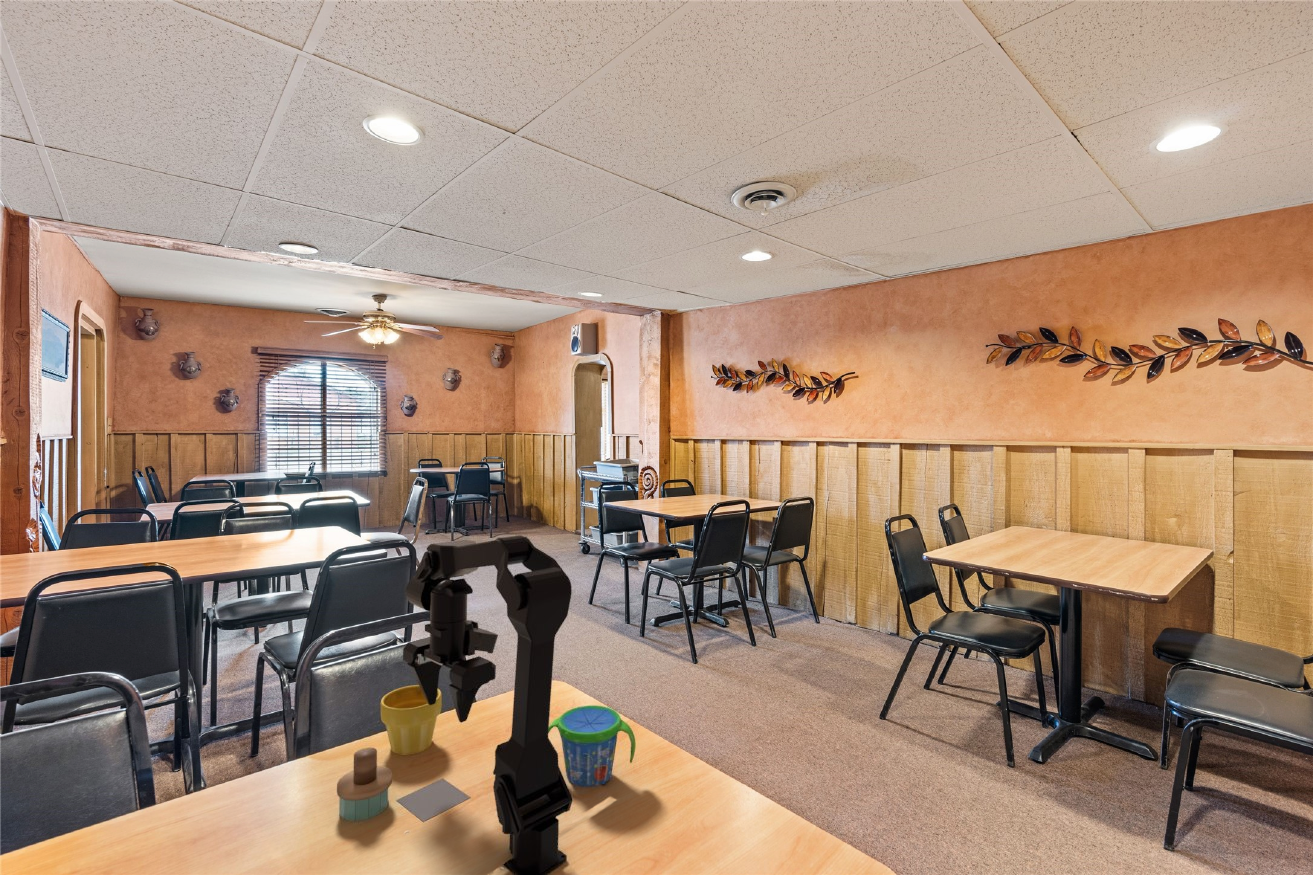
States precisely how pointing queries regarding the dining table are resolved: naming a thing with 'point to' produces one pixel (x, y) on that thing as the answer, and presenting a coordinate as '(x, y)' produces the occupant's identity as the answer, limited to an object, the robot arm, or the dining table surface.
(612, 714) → the snack cup
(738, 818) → the dining table surface
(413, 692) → the plant pot
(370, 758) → the lid
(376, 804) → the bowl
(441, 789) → the mat
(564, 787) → the robot arm
